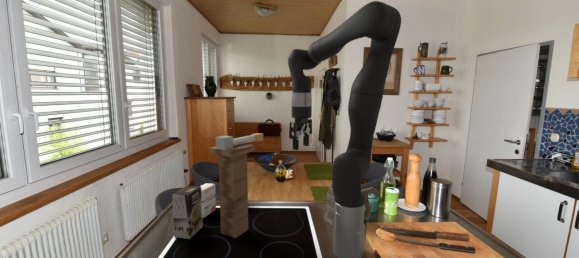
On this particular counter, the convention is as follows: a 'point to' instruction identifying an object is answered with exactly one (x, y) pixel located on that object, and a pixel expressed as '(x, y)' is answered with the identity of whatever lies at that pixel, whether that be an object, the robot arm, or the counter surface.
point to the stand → (233, 188)
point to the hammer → (236, 141)
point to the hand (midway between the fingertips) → (301, 147)
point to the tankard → (331, 202)
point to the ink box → (208, 199)
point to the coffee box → (187, 211)
